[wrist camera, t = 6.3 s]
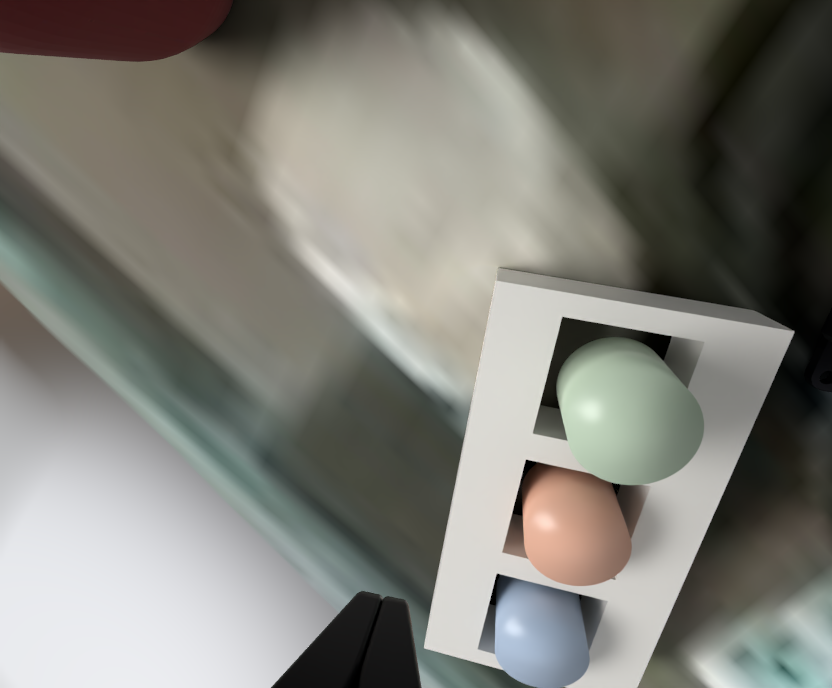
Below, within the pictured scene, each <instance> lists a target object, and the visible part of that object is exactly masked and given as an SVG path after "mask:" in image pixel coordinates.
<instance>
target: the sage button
mask: <svg viewBox="0 0 832 688" xmlns="http://www.w3.org/2000/svg"><path fill="white" fill-rule="evenodd" d="M556 391H557V398H558V402H559V406H560V410H561V415H562V419H563V423H564V427H565V432H566V436H567V440H568V444H569V447H570V449H571V452H572V454H573V455H574V457H575V458H576V460H577V461H578V462H579V463H580V465H581V466H583V467H584V468H585V469H586V470H587V471H589V472H590V473H591V474H593V475H595V476H597V477H598V478H600V479H603V480H605V481H608V482H612V483H616V484H622V485H643V484H650V483H653V482H657V481H660V480H663V479H665V478H667V477H669V476H671V475H673V474H675V473H676V472H678V471H679V470H681V469H682V468H683V467H684V466H686V465H687V464H688V463H689V461H690V460H691V459H692V458H693V457H694V455H695V454H696V452H697V451H698V449H699V447H700V445H701V442H702V438H703V433H704V418H703V413H702V411H701V408H700V405H699V404H698V402H697V400H696V399H695V397H694V396H693V395H692V393H691V392H690V391H689V390H688V389H687V388H686V386H685V385H684V384H683V383H682V382H681V381H680V380H679V378H678V377H677V376H676V375H675V374H674V373H673V372H672V370H671V369H670V368H669V367H668V366H667V365H666V364H665V362H664V361H663V360H662V359H661V358H660V357H659V356H658V355H657V354H656V353H655V352H654V351H653V350H652V349H651V348H649V347H648V346H647V345H645V344H643V343H641V342H639V341H636V340H633V339H629V338H623V337H607V338H601V339H597V340H594V341H591V342H589V343H587V344H585V345H583V346H581V347H580V348H578V349H577V350H576V351H574V352H573V353H572V354H571V355H570V356H569V357H568V358H567V359H566V361H565V362H564V364H563V365H562V367H561V369H560V372H559V374H558V378H557V384H556Z"/></svg>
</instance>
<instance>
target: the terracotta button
mask: <svg viewBox="0 0 832 688" xmlns="http://www.w3.org/2000/svg"><path fill="white" fill-rule="evenodd" d="M522 509H523V530H524V546H525V551H526V554H527V557H528V559H529V560H530V562H531V563H532V565H533V566H534V567H535V568H536V569H537V570H538V571H539V572H540V573H542V574H543V575H544V576H546V577H548V578H550V579H551V580H554V581H556V582H559V583H562V584H566V585H572V586H590V585H595V584H599V583H602V582H605V581H607V580H610V579H611V578H613V577H615V576H616V575H617V574H618V573H620V572H621V571H622V570H623V569H624V567H625V566H626V564H627V563H628V561H629V559H630V555H631V550H632V543H631V538H630V534H629V532H628V529H627V526H626V523H625V520H624V517H623V514H622V511H621V509H620V506H619V503H618V500H617V497H616V494H615V491H614V489H613V486H612V483H611V482H608V481H605V480H603V479H600V478H598V477H597V476H595V475H593V474H590V473H586V472H581V471H577V470H572V469H567V468H563V467H558V466H554V465H549V464H544V463H540V462H538V463H537V464H535V465H534V466H533V467H532V468H531V469H530V470H529V471H528V473H527V474H526V476H525V478H524V480H523V484H522Z"/></svg>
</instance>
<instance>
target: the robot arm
mask: <svg viewBox="0 0 832 688" xmlns="http://www.w3.org/2000/svg"><path fill="white" fill-rule="evenodd" d="M822 333H823V334H822V336H821V338H820V340H819V342H818V344H817V347H816V349H815V351H814V353H813V355H812V357H811V359H810V362H809V364H808V366H807V368H806V370H805V375H804V376H805V379H806V381H807V382H808V383H809V384H811V385H812V386H814V387H815V388H817V389H819V390H822V391H828V392H832V308H831V311H830V313H829V315H828V317H827V319H826V321H825V324H824V326H823V328H822ZM825 371H829V375H828V376H827V377H826V378H824V379H822V380H819V379H820V375H821V374H822V373H823V372H825ZM271 688H421V682H420V676H419V669H418V663H417V657H416V650H415V644H414V638H413V631H412V625H411V619H410V612H409V606H408V603H407V601H406V600H403V599H398V598H394V597H389V596H387V597H385V598H384V599H383V597H382V596H381V595H379V594H374V593H370V592H365V591H361V592H359V593H357V594H356V595H355V596H354V598H353V599H352V600H351V601H350V602H349V603H348V604H347V605H346V606H345V607H344V609H343V610H342V611H341V612H340V613H339V614H338V615H337V616H336V617H335V619H333V621H332V622H331V623H330V624H329V625H328V626H327V627H326V628H325V629H324V630H323V631H322V633H321V634H320V635H319V636H318V637H317V638H316V639H315V640H314V641H313V643H312V644H311V645H310V646H309V647H308V648H307V649H306V650H305V651H304V652H303V653H302V655H300V657H299V658H298V659H297V660H296V661H295V662H294V663H293V664H292V665H291V666H290V668H289V669H288V670H287V671H286V672H285V673H284V674H283V675H282V676H281V677H280V678H279V680H278V681H277V682H276V683H275V684H274V685H273V686H272V687H271Z"/></svg>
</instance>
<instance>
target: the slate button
mask: <svg viewBox="0 0 832 688" xmlns="http://www.w3.org/2000/svg"><path fill="white" fill-rule="evenodd" d="M495 655H496V658H497V661H498V663H499V664H500V666H501V667H502V668H503V669H504V671H505V672H506V673H508V674H509V675H510V676H511V677H513V678H514V679H516V680H518V681H520V682H522V683H524V684H527V685H530V686H534V687H539V688H559V687H564V686H567V685H570V684H572V683H574V682H576V681H577V680H579V679H580V678H581V677H582V676H583V675H584V674H585V673H586V671H587V669H588V666H589V661H590V657H589V650H588V644H587V639H586V633H585V627H584V621H583V616H582V610H581V604H580V598H579V594H577V593H573V592H569V591H565V590H561V589H557V588H553V587H549V586H545V585H541V584H537V583H533V582H529V581H525V580H521V579H517V578H513V577H509V576H505V575H500V577H499V578H498V581H497V586H496V619H495Z"/></svg>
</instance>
